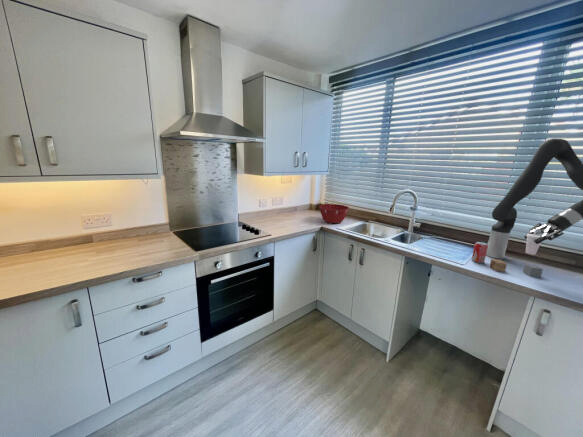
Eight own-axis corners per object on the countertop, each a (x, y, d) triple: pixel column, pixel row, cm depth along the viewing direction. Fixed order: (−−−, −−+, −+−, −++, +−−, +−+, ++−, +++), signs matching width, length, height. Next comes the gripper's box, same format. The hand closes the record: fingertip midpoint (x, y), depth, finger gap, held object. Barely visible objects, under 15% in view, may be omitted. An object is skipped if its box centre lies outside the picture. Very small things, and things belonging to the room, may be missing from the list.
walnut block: (489, 267, 141) (491, 259, 139) (499, 268, 140) (501, 260, 138) (494, 270, 136) (496, 262, 135) (504, 271, 135) (506, 263, 134)
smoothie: (530, 251, 128) (537, 225, 125) (542, 255, 122) (550, 229, 119) (518, 251, 128) (525, 225, 125) (530, 255, 122) (537, 229, 118)
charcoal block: (522, 272, 135) (525, 264, 134) (533, 273, 134) (535, 265, 133) (529, 276, 130) (531, 267, 129) (540, 277, 129) (542, 268, 128)
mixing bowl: (341, 227, 216) (342, 210, 212) (313, 222, 231) (313, 206, 227) (351, 221, 239) (353, 206, 236) (325, 217, 254) (326, 203, 251)
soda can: (477, 263, 145) (481, 244, 142) (468, 259, 151) (472, 241, 148) (486, 263, 145) (491, 244, 143) (478, 259, 151) (482, 241, 149)
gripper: (547, 211, 125) (515, 231, 130) (573, 217, 112) (536, 239, 117) (557, 221, 125) (524, 241, 131) (583, 229, 112) (546, 250, 117)
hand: (530, 240), depth 124 cm, fingers closed on smoothie, 6 cm apart
